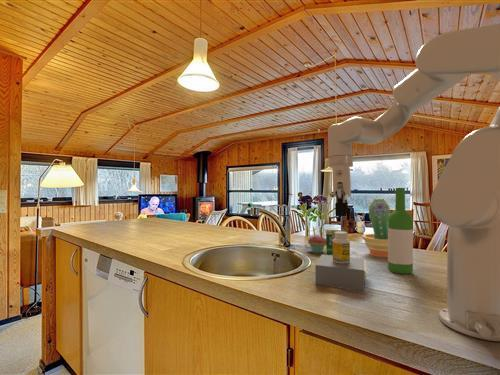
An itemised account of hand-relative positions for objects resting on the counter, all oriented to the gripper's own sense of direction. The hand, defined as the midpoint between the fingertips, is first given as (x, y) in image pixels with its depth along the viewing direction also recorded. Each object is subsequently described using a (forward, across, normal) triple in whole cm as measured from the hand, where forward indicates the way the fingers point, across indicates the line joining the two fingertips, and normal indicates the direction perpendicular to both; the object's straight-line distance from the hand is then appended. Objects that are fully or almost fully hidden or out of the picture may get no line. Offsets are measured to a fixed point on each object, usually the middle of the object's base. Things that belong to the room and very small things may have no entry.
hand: (341, 214), depth 86 cm
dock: (+21, +1, +1) cm, 21 cm away
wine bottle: (+22, +18, -18) cm, 33 cm away
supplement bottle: (+16, 0, +1) cm, 16 cm away
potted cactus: (+21, +42, -13) cm, 48 cm away
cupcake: (+21, +37, +14) cm, 44 cm away
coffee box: (+21, +21, +4) cm, 30 cm away
